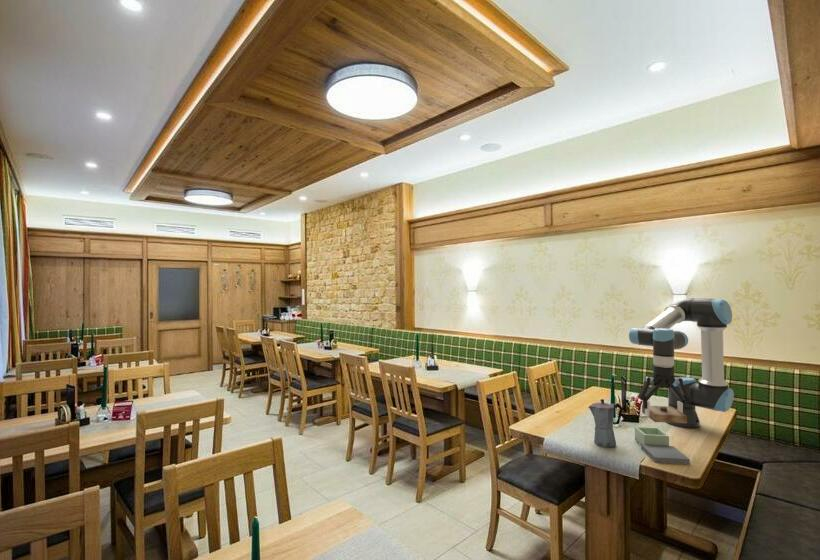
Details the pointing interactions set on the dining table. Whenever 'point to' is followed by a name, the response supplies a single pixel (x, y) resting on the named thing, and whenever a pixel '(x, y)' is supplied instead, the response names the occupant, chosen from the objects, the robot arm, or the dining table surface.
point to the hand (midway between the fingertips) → (663, 416)
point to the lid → (666, 414)
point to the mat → (665, 454)
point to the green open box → (651, 436)
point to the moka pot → (604, 423)
